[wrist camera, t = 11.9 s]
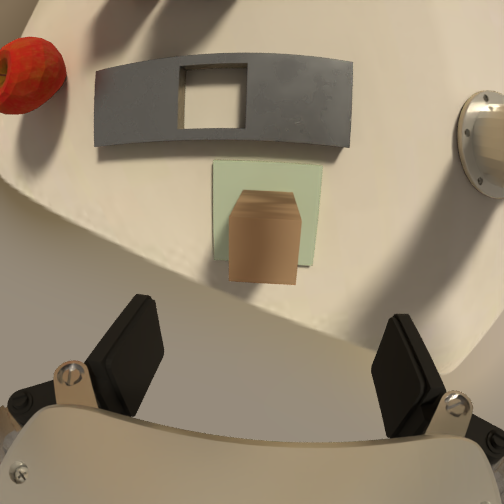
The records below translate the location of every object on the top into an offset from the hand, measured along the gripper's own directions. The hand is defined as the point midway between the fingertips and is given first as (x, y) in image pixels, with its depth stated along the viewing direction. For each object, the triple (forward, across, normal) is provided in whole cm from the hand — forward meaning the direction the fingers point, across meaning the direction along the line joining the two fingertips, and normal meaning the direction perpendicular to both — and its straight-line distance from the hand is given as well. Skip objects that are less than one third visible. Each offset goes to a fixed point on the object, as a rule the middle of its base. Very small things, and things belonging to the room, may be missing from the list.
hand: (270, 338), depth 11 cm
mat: (+18, +1, 0) cm, 19 cm away
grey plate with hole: (+18, +6, -10) cm, 22 cm away
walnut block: (+18, +1, 0) cm, 18 cm away
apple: (+18, +25, -16) cm, 35 cm away
